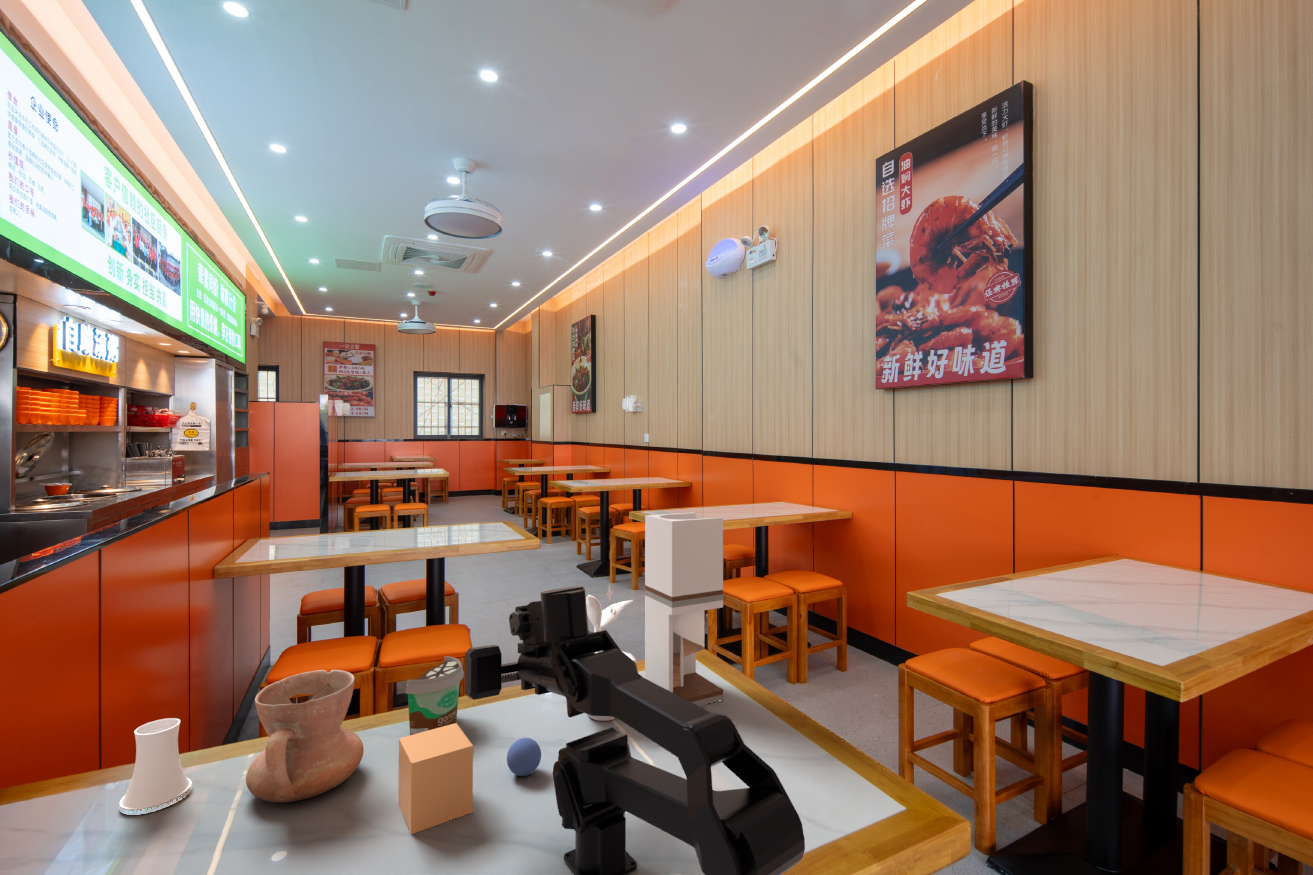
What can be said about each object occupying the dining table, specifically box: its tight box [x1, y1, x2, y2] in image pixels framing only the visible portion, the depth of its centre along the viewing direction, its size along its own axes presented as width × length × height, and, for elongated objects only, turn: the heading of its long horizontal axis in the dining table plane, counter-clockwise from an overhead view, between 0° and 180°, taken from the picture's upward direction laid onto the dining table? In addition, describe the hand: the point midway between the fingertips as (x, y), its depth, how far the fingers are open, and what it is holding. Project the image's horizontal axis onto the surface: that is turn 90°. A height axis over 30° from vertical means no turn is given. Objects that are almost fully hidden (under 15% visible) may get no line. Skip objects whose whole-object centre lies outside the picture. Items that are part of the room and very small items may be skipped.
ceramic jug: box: [245, 669, 365, 803], centre depth 83 cm, size 18×14×14 cm
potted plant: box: [586, 583, 637, 722], centre depth 106 cm, size 13×12×25 cm
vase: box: [119, 717, 193, 812], centre depth 80 cm, size 8×8×10 cm
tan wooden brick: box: [397, 722, 474, 835], centre depth 78 cm, size 8×8×9 cm
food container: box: [404, 655, 465, 735], centre depth 101 cm, size 12×6×10 cm, turn 168°
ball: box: [506, 737, 542, 777], centre depth 86 cm, size 5×5×5 cm
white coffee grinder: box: [644, 512, 724, 707], centre depth 114 cm, size 11×11×35 cm
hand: (508, 657), depth 88 cm, fingers open, 9 cm apart
